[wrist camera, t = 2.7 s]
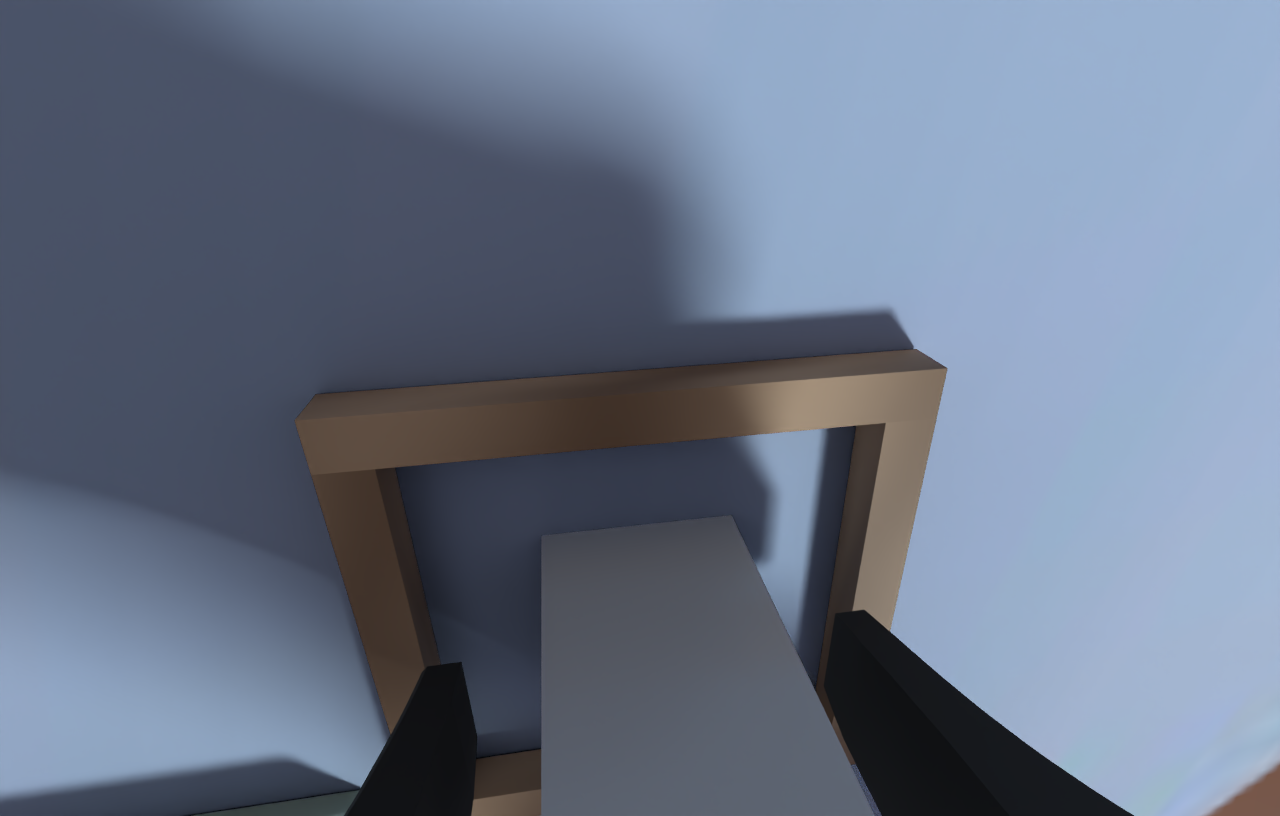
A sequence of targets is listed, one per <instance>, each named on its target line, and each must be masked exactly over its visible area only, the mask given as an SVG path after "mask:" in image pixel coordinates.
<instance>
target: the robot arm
mask: <svg viewBox="0 0 1280 816" xmlns="http://www.w3.org/2000/svg"><path fill="white" fill-rule="evenodd" d="M824 688H825V691H826V694H827V697H828V700H829V702H830V705H831V708H832V711H833V713H834V716H835V719H836V721H837V724H838V726H839V729H840V731H841V734H842V737H843V739H844V741H845V743H846V745H847V747H848V749H849V751H850V753H851V755H852V757H853V759H854V761H855V763H856V765H857V767H858V769H859V771H860V773H861V775H862V777H863V779H864V781H865V783H866V785H867V787H868V789H869V791H870V793H871V795H872V797H873V799H874V801H875V803H876V805H877V807H878V809H879V811H880V812H881V814H882V816H1134V815H1132V814H1131V813H1129V812H1127V811H1126V810H1124V809H1122V808H1121V807H1119V806H1117V805H1116V804H1114V803H1113V802H1111V801H1110V800H1108V799H1106V798H1105V797H1103V796H1102V795H1100V794H1099V793H1097V792H1096V791H1094V790H1092V789H1091V788H1089V787H1088V786H1087V785H1085V784H1084V783H1082V782H1081V781H1079V780H1078V779H1076V778H1075V777H1073V776H1072V775H1070V774H1069V773H1067V772H1066V771H1064V770H1063V769H1062V768H1060V767H1059V766H1057V765H1056V764H1054V763H1053V762H1051V761H1050V760H1048V759H1047V758H1045V757H1044V756H1043V755H1041V754H1040V753H1039V752H1037V751H1036V750H1034V749H1033V748H1032V747H1030V746H1029V745H1027V744H1026V743H1025V742H1023V741H1022V740H1021V739H1019V738H1018V737H1017V736H1015V735H1014V734H1013V733H1012V732H1010V731H1009V730H1008V729H1006V728H1005V727H1004V726H1002V725H1001V724H1000V723H998V722H997V721H996V720H994V719H993V718H992V717H990V716H989V715H988V714H987V713H985V712H984V711H983V710H982V709H980V708H979V707H978V706H977V705H975V704H974V703H973V702H972V701H970V700H969V699H968V698H967V697H966V696H964V695H963V694H962V693H961V692H960V691H958V690H957V689H956V688H955V687H953V686H952V685H951V684H950V683H949V682H947V681H946V680H945V679H944V678H943V677H941V676H940V675H939V674H938V673H937V672H936V671H934V670H933V669H932V668H931V667H930V666H929V665H927V664H926V663H925V662H924V661H923V660H922V659H921V658H919V657H918V656H917V655H916V654H915V653H914V652H912V651H911V650H910V649H909V648H908V647H907V646H906V645H904V644H903V643H902V642H901V641H900V640H899V639H898V638H897V637H895V636H894V635H893V634H892V633H891V632H890V631H889V630H887V629H886V628H885V627H884V626H883V625H882V624H881V623H879V622H878V621H877V620H876V619H875V618H874V617H873V616H871V615H870V614H869V613H868V612H867V611H866V610H857V611H849V612H841V613H835V618H834V624H833V631H832V637H831V643H830V649H829V655H828V662H827V668H826V674H825V680H824ZM476 749H477V733H476V729H475V724H474V719H473V715H472V710H471V705H470V700H469V696H468V691H467V686H466V681H465V677H464V672H463V667H462V662H458V663H450V664H442V665H435V666H427V667H426V668H425V669H424V670H423V671H422V673H421V675H420V677H419V679H418V681H417V684H416V686H415V688H414V690H413V692H412V694H411V696H410V698H409V700H408V702H407V704H406V706H405V708H404V710H403V712H402V714H401V716H400V718H399V720H398V722H397V724H396V726H395V728H394V730H393V731H392V733H391V735H390V737H389V739H388V741H387V743H386V745H385V746H384V748H383V750H382V752H381V753H380V755H379V757H378V759H377V760H376V762H375V764H374V766H373V767H372V769H371V771H370V773H369V775H368V776H367V778H366V780H365V782H364V783H363V785H362V787H361V789H360V790H359V792H358V794H357V795H356V797H355V799H354V800H353V802H352V803H351V805H350V807H349V808H348V810H347V811H346V813H345V815H344V816H471V814H472V807H473V800H474V787H475V770H476Z"/></svg>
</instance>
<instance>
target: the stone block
mask: <svg viewBox="0 0 1280 816" xmlns="http://www.w3.org/2000/svg"><path fill="white" fill-rule="evenodd" d="M541 816H875V815H874V813H873V811H872V809H871V807H870V805H869V802H868V800H867V798H866V796H865V794H864V792H863V790H862V788H861V786H860V784H859V781H858V779H857V777H856V775H855V773H854V771H853V769H852V767H851V765H850V763H849V761H848V758H847V756H846V754H845V752H844V750H843V748H842V746H841V744H840V742H839V740H838V737H837V735H836V733H835V731H834V729H833V727H832V725H831V723H830V721H829V719H828V716H827V714H826V712H825V710H824V708H823V706H822V704H821V702H820V700H819V698H818V695H817V693H816V691H815V689H814V687H813V685H812V683H811V681H810V679H809V677H808V674H807V672H806V670H805V668H804V666H803V664H802V662H801V660H800V658H799V656H798V654H797V651H796V649H795V647H794V645H793V643H792V641H791V639H790V637H789V635H788V633H787V630H786V628H785V626H784V624H783V622H782V620H781V618H780V616H779V614H778V612H777V609H776V607H775V605H774V603H773V601H772V599H771V597H770V595H769V593H768V591H767V588H766V586H765V584H764V582H763V580H762V578H761V576H760V574H759V572H758V570H757V567H756V565H755V563H754V561H753V559H752V557H751V555H750V553H749V551H748V549H747V547H746V544H745V542H744V540H743V538H742V536H741V534H740V532H739V530H738V528H737V526H736V523H735V521H734V519H733V517H732V515H728V516H718V517H709V518H700V519H690V520H681V521H672V522H662V523H653V524H644V525H634V526H625V527H616V528H606V529H597V530H588V531H578V532H569V533H560V534H550V535H541Z"/></svg>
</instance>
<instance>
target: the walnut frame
mask: <svg viewBox="0 0 1280 816" xmlns="http://www.w3.org/2000/svg"><path fill="white" fill-rule="evenodd" d="M946 373H947V368H946V367H945V366H943V365H941V364H940V363H938V362H936V361H935V360H933V359H932V358H930V357H928V356H927V355H925V354H924V353H922V352H920V351H919V350H917V349H911V350H897V351H884V352H871V353H857V354H844V355H831V356H818V357H804V358H791V359H778V360H765V361H751V362H738V363H725V364H712V365H698V366H685V367H672V368H658V369H645V370H632V371H619V372H605V373H592V374H579V375H566V376H552V377H539V378H526V379H513V380H499V381H486V382H473V383H459V384H446V385H433V386H420V387H406V388H393V389H380V390H367V391H353V392H340V393H327V394H316V395H315V396H314V397H313V398H312V400H311V401H310V402H309V403H308V405H307V406H306V407H305V408H304V409H303V411H302V412H301V413H300V414H299V416H298V417H297V418H296V419H295V420H294V421H295V424H296V427H297V431H298V434H299V437H300V441H301V444H302V447H303V450H304V454H305V457H306V460H307V463H308V467H309V470H310V473H311V477H312V480H313V483H314V486H315V490H316V493H317V496H318V499H319V503H320V506H321V509H322V512H323V516H324V519H325V522H326V526H327V529H328V532H329V535H330V539H331V542H332V545H333V548H334V552H335V555H336V558H337V561H338V565H339V568H340V571H341V575H342V578H343V581H344V584H345V588H346V591H347V594H348V597H349V601H350V604H351V607H352V610H353V614H354V617H355V620H356V624H357V627H358V630H359V633H360V637H361V640H362V643H363V646H364V650H365V653H366V656H367V659H368V663H369V666H370V669H371V673H372V676H373V679H374V682H375V686H376V689H377V692H378V695H379V699H380V702H381V705H382V708H383V712H384V715H385V718H386V722H387V725H388V728H389V731H390V735H391V733H392V731H393V730H394V728H395V726H396V724H397V722H398V720H399V718H400V716H401V714H402V712H403V710H404V708H405V706H406V704H407V702H408V700H409V698H410V696H411V694H412V692H413V690H414V688H415V686H416V684H417V681H418V679H419V677H420V675H421V673H422V671H423V670H424V669H425V668H426V667H427V666H435V665H441V663H440V659H439V655H438V650H437V646H436V642H435V638H434V633H433V629H432V625H431V620H430V616H429V612H428V608H427V603H426V599H425V595H424V590H423V586H422V582H421V577H420V573H419V569H418V565H417V560H416V556H415V552H414V547H413V543H412V539H411V535H410V530H409V526H408V522H407V517H406V513H405V509H404V504H403V500H402V496H401V492H400V487H399V483H398V479H397V474H396V470H395V467H405V466H416V465H427V464H438V463H449V462H460V461H471V460H482V459H493V458H504V457H515V456H526V455H537V454H549V453H560V452H571V451H582V450H593V449H604V448H615V447H626V446H637V445H648V444H659V443H670V442H681V441H692V440H703V439H714V438H725V437H736V436H747V435H758V434H769V433H780V432H791V431H802V430H813V429H824V428H835V427H846V426H856V431H855V438H854V444H853V451H852V457H851V464H850V470H849V477H848V483H847V490H846V496H845V503H844V509H843V515H842V522H841V528H840V535H839V541H838V548H837V554H836V561H835V567H834V574H833V580H832V587H831V593H830V600H829V606H828V613H827V619H826V626H825V632H824V639H823V645H822V652H821V658H820V665H819V671H818V678H817V684H816V693H817V695H818V698H819V700H820V702H821V704H822V706H823V708H824V710H825V712H826V714H827V716H828V719H829V721H830V723H831V725H832V727H833V729H834V731H835V733H836V735H837V737H838V740H839V742H840V744H841V746H842V748H843V750H844V752H845V754H846V756H847V758H848V761H849V763H850V765H853V764H856V763H855V761H854V759H853V757H852V755H851V753H850V751H849V749H848V747H847V745H846V743H845V741H844V739H843V737H842V734H841V731H840V729H839V726H838V724H837V721H836V719H835V716H834V713H833V711H832V708H831V705H830V702H829V700H828V697H827V694H826V691H825V688H824V680H825V674H826V668H827V662H828V655H829V649H830V643H831V637H832V631H833V624H834V618H835V613H841V612H849V611H857V610H866V611H867V612H868V613H869V614H870V615H871V616H873V617H874V618H875V619H876V620H877V621H878V622H879V623H881V624H882V625H883V626H884V627H885V628H886V629H887V630H889V631H890V629H891V624H892V620H893V615H894V611H895V606H896V602H897V597H898V592H899V588H900V583H901V579H902V574H903V569H904V565H905V560H906V556H907V551H908V547H909V542H910V537H911V533H912V528H913V524H914V519H915V515H916V510H917V505H918V501H919V496H920V492H921V487H922V483H923V478H924V473H925V469H926V464H927V460H928V455H929V451H930V446H931V441H932V437H933V432H934V428H935V423H936V419H937V414H938V409H939V405H940V400H941V396H942V391H943V387H944V382H945V377H946ZM471 816H541V749H540V750H533V751H526V752H520V753H513V754H506V755H500V756H493V757H486V758H480V759H476V770H475V787H474V800H473V807H472V814H471Z"/></svg>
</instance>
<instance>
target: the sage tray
mask: <svg viewBox="0 0 1280 816" xmlns="http://www.w3.org/2000/svg"><path fill="white" fill-rule="evenodd" d="M358 792H359V790H357V791H350V792H344V793H337V794H331V795H324V796H317V797H311V798H304V799H298V800H291V801H285V802H278V803H272V804H265V805H258V806H252V807H245V808H239V809H232V810H226V811H219V812H213V813H206V814H199V815H193V816H344V815H345V813H346V811H347V810H348V808H349V807H350V805H351V803H352V802H353V800H354V799H355V797H356V795H357V794H358Z"/></svg>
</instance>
